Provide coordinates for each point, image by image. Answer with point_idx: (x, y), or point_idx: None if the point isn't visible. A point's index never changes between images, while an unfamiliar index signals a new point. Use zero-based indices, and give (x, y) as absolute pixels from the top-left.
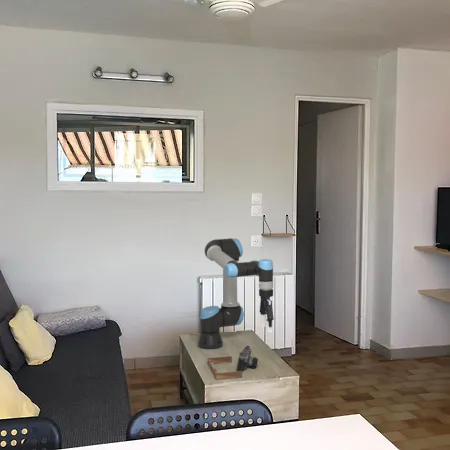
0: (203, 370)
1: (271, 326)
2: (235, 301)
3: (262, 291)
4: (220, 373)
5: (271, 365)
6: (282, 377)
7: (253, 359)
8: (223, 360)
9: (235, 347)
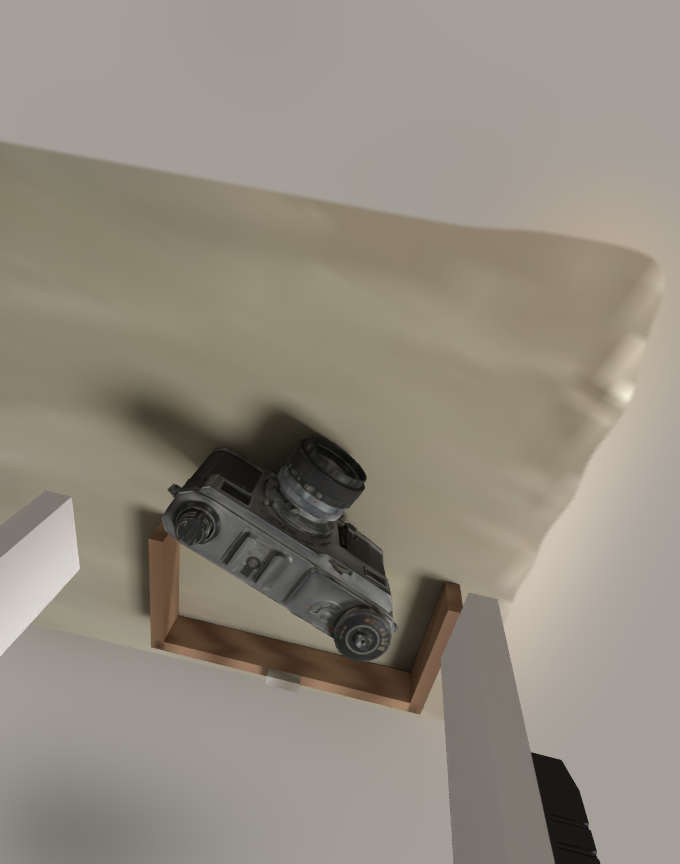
0: None
1: (562, 769)
2: None
3: None
4: (421, 697)
5: (338, 317)
6: (627, 375)
7: (340, 504)
8: (171, 570)
9: None
